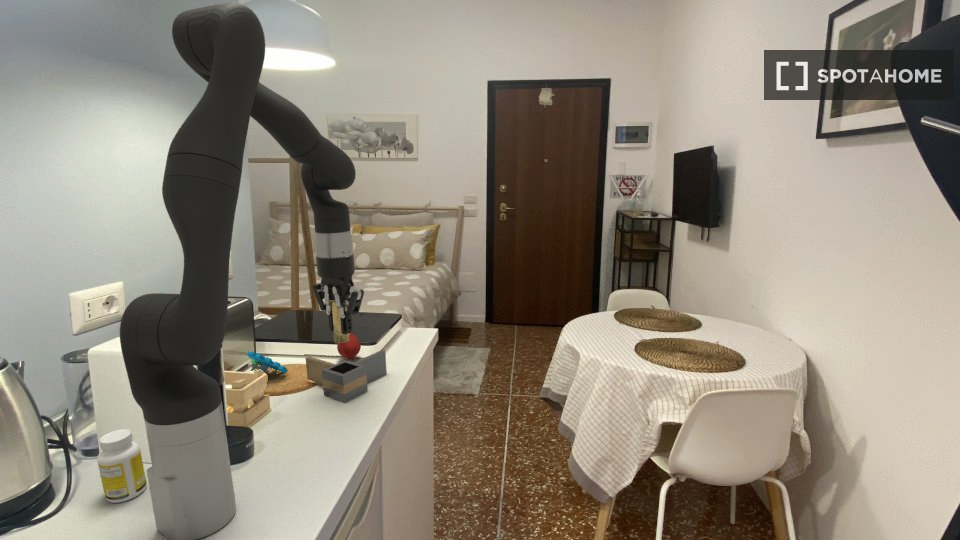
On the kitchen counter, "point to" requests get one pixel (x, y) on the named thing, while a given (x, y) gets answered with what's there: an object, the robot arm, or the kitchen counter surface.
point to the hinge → (346, 375)
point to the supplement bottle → (121, 466)
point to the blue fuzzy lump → (264, 363)
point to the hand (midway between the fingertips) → (341, 331)
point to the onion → (349, 347)
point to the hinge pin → (338, 324)
